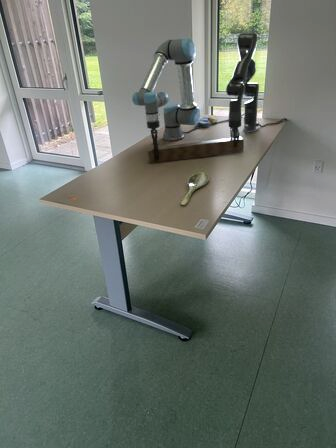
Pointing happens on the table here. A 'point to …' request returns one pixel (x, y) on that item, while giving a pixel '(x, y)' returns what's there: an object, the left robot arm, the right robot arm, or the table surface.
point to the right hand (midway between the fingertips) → (234, 145)
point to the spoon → (195, 184)
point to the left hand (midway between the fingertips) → (156, 157)
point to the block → (196, 150)
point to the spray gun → (206, 121)
